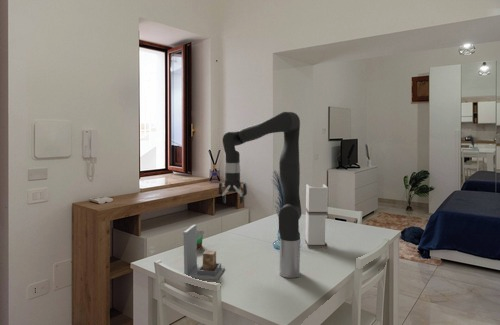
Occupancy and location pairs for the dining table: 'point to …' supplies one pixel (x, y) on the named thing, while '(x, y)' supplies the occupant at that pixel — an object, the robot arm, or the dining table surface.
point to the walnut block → (209, 260)
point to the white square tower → (316, 216)
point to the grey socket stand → (191, 258)
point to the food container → (199, 238)
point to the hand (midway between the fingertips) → (232, 203)
